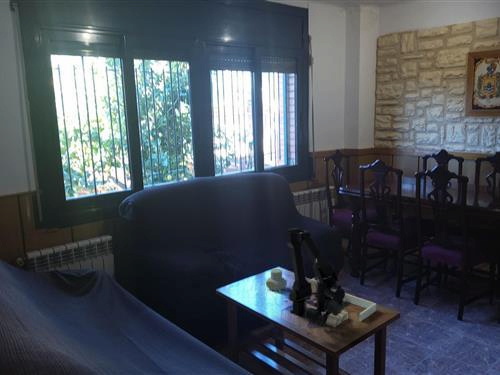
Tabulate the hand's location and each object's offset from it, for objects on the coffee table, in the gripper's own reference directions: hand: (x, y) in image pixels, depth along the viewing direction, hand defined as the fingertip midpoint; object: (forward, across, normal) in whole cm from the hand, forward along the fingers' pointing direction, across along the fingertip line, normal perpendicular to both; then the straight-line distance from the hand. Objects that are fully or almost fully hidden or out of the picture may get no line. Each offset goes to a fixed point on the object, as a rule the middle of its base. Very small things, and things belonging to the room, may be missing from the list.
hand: (322, 326), depth 182 cm
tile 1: (+2, +8, 0) cm, 8 cm away
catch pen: (+1, +24, 0) cm, 24 cm away
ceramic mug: (+2, +31, +23) cm, 38 cm away
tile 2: (+2, +14, 0) cm, 14 cm away
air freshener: (+2, +19, +42) cm, 46 cm away
